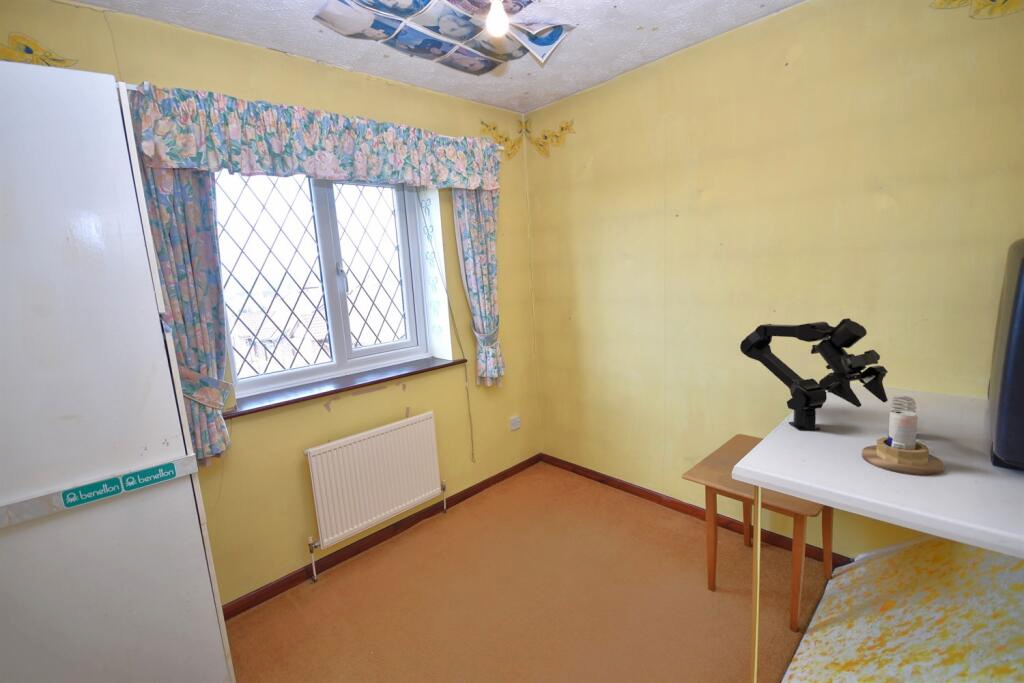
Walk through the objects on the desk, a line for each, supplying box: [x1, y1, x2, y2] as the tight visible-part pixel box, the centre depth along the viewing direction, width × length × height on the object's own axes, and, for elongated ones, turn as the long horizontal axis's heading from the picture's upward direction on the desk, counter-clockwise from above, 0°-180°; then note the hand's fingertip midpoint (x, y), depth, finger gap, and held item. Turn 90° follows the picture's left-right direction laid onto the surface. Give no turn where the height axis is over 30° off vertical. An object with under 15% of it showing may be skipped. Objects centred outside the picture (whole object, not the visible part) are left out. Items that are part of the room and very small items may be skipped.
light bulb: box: [890, 395, 917, 413], centre depth 130 cm, size 6×6×12 cm
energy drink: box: [887, 410, 918, 450], centre depth 114 cm, size 5×5×12 cm
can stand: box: [861, 436, 945, 477], centre depth 115 cm, size 16×16×5 cm
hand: (873, 404), depth 120 cm, fingers open, 9 cm apart
